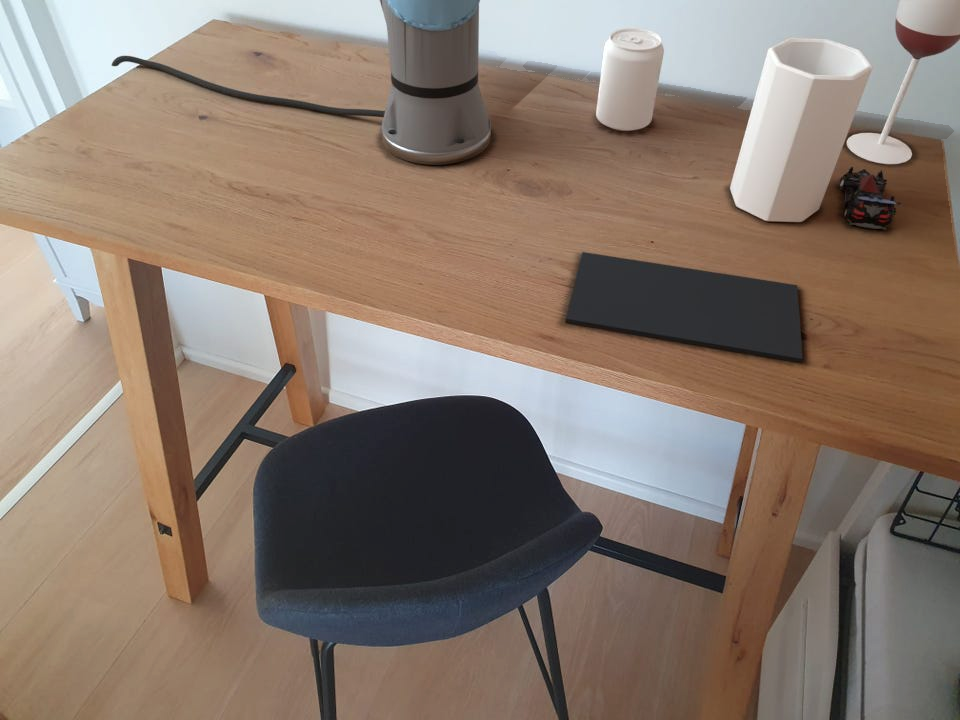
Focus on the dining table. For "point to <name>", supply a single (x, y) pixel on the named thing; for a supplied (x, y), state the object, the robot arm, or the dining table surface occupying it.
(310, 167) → the dining table surface
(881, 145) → the wineglass
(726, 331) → the place mat
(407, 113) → the robot arm
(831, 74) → the cup
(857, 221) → the toy car
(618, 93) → the beverage can
